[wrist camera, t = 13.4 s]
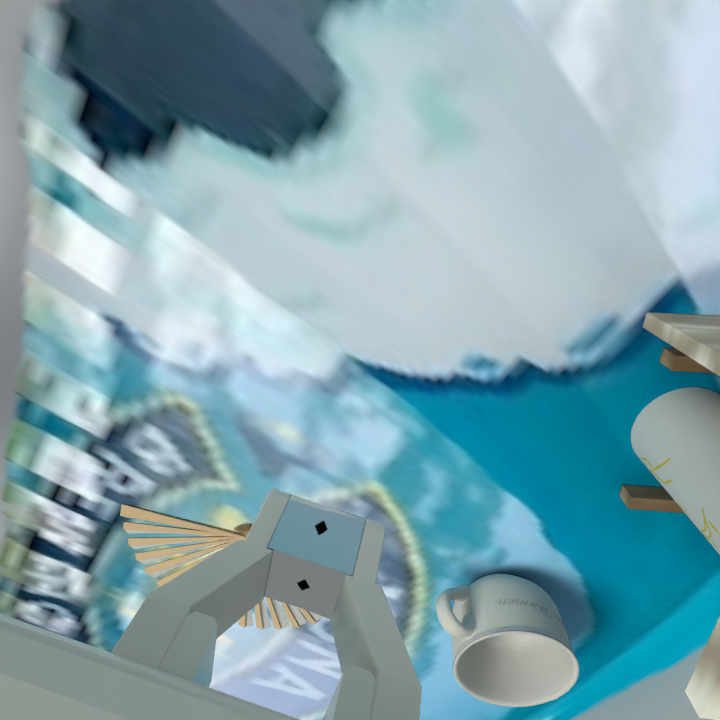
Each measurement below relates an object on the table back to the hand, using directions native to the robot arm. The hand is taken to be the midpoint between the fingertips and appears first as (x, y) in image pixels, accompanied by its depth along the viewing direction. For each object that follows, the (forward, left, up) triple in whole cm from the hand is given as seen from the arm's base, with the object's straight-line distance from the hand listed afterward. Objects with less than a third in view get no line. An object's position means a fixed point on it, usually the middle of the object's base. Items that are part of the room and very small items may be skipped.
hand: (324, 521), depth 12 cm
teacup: (+31, +13, -27) cm, 43 cm away
